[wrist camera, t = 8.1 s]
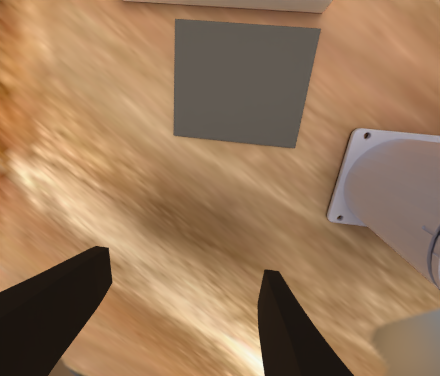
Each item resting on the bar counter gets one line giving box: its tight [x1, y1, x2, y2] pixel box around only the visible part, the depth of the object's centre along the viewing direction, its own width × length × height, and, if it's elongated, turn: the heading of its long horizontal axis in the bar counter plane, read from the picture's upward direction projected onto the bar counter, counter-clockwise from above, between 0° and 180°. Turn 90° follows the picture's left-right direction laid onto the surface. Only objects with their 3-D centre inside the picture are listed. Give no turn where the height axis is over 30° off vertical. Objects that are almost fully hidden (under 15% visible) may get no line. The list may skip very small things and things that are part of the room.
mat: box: [174, 19, 321, 148], centre depth 16 cm, size 10×8×1 cm
